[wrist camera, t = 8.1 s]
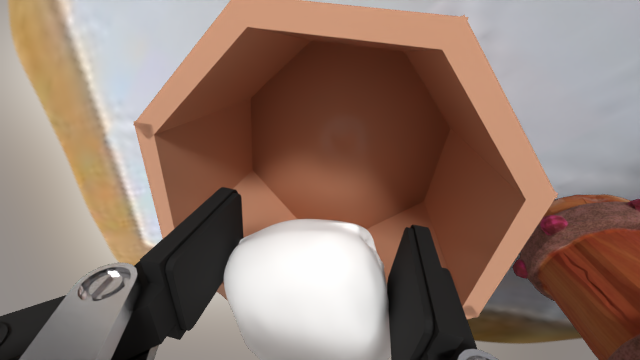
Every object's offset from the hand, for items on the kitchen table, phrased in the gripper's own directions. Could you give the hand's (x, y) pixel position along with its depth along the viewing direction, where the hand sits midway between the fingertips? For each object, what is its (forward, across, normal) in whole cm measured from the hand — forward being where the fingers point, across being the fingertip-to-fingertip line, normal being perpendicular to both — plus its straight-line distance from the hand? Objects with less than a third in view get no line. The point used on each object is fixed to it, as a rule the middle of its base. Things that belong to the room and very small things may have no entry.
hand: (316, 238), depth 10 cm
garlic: (+1, 0, +3) cm, 3 cm away
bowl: (+11, 0, 0) cm, 11 cm away
